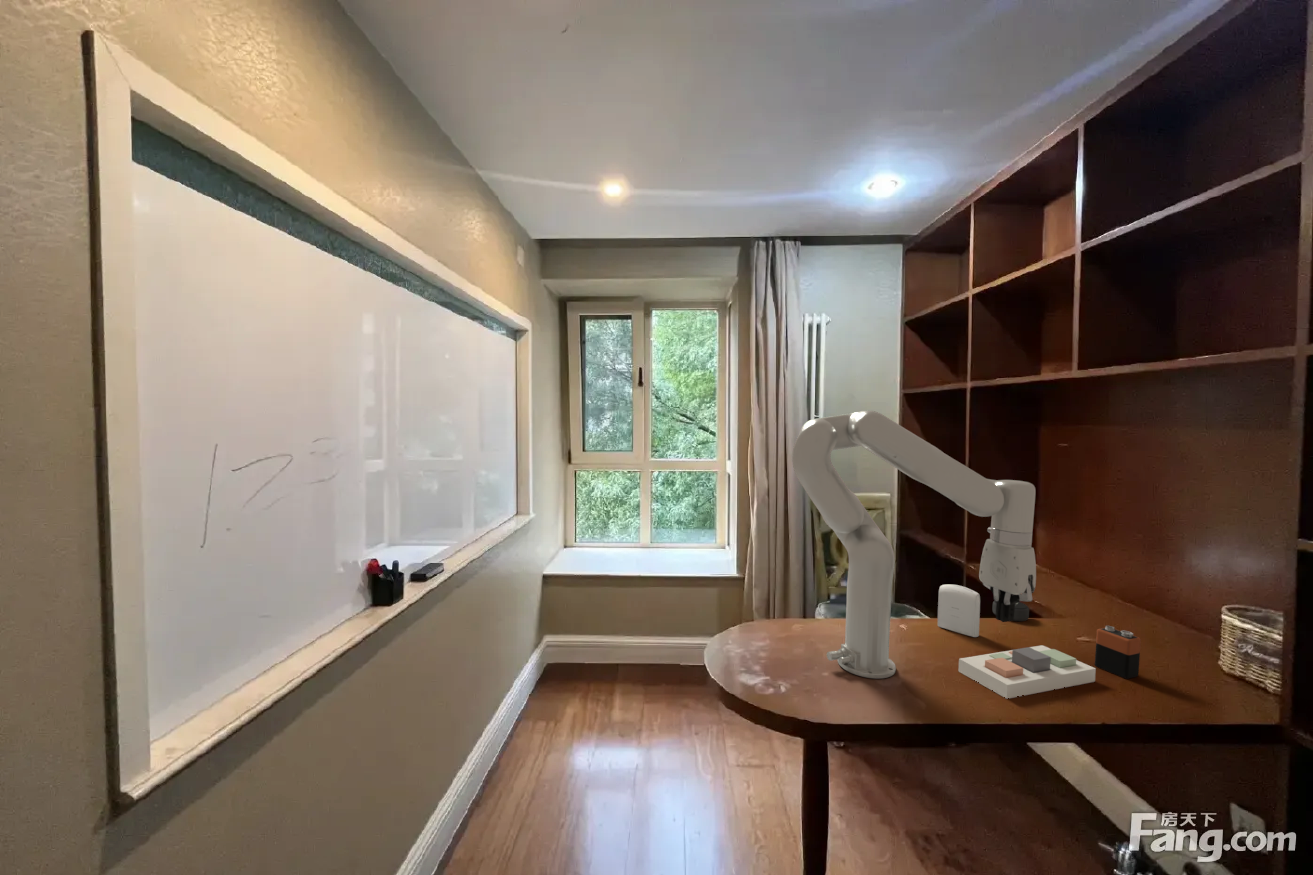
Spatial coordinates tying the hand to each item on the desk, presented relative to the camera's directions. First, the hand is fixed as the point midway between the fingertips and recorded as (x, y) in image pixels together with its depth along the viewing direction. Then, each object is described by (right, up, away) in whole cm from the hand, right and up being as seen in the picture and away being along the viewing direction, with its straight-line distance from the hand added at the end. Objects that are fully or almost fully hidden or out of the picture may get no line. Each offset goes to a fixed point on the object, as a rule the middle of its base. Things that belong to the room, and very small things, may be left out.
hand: (1004, 619), depth 116 cm
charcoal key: (+8, -12, +3) cm, 14 cm away
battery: (+31, -15, +7) cm, 35 cm away
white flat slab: (+7, -14, +4) cm, 16 cm away
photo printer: (+6, -13, +29) cm, 32 cm away
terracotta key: (0, -13, +1) cm, 13 cm away
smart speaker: (+28, -13, +40) cm, 50 cm away
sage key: (+15, -13, +5) cm, 21 cm away
